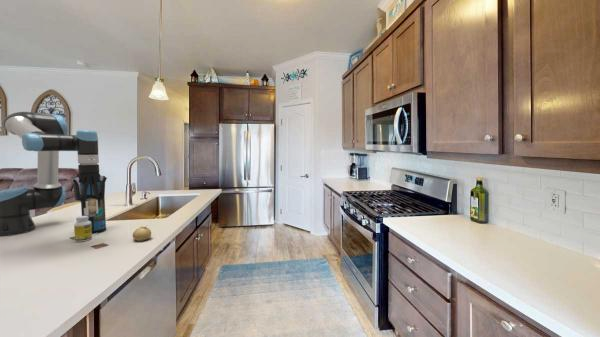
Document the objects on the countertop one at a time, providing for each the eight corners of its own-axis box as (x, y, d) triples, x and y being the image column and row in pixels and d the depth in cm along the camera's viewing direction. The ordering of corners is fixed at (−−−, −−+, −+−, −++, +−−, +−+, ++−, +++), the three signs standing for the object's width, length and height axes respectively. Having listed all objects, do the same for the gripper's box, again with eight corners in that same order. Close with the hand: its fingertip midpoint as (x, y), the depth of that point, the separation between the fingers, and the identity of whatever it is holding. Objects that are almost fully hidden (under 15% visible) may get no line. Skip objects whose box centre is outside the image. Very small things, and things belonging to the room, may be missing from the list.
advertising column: (86, 236, 135) (83, 178, 133) (77, 232, 141) (74, 176, 138) (111, 230, 144) (108, 176, 142) (101, 227, 150) (99, 175, 148)
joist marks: (69, 238, 132) (69, 237, 132) (81, 235, 136) (81, 234, 136) (95, 248, 118) (95, 248, 118) (108, 245, 122) (108, 244, 122)
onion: (131, 243, 125) (131, 229, 125) (133, 238, 132) (133, 224, 132) (151, 241, 129) (150, 226, 128) (151, 236, 136) (151, 222, 135)
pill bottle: (82, 242, 125) (80, 219, 125) (71, 241, 127) (70, 218, 126) (95, 238, 132) (94, 215, 131) (85, 237, 133) (83, 214, 132)
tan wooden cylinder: (85, 216, 122) (84, 199, 121) (94, 214, 125) (93, 198, 124) (88, 217, 120) (87, 200, 120) (97, 215, 123) (96, 198, 123)
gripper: (70, 165, 112) (73, 219, 114) (112, 163, 126) (114, 211, 128) (62, 164, 116) (66, 216, 117) (104, 163, 130) (107, 209, 131)
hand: (91, 213), depth 123 cm, fingers closed on tan wooden cylinder, 3 cm apart
